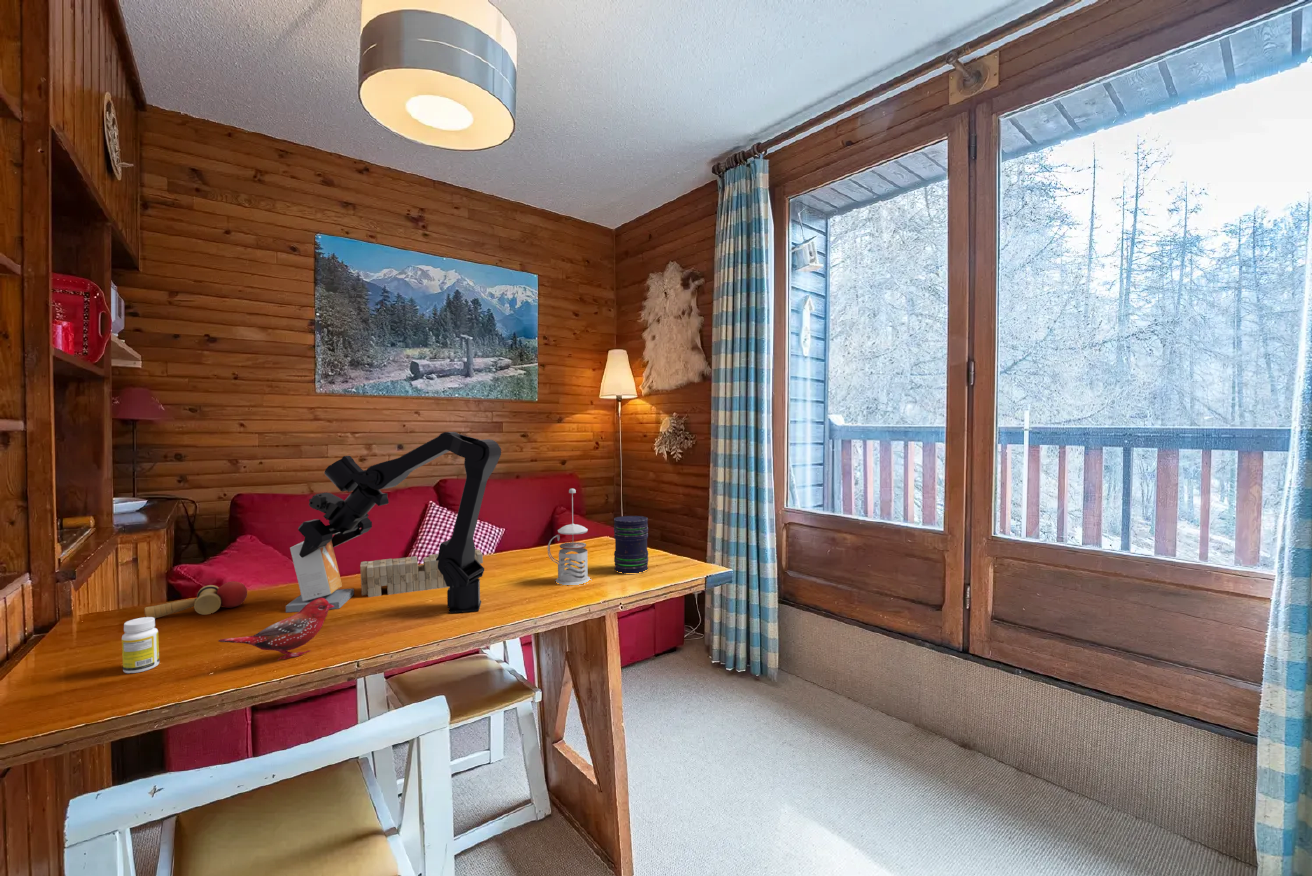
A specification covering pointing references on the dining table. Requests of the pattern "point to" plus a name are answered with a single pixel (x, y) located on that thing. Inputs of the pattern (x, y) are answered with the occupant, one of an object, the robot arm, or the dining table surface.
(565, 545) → the french press
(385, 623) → the dining table surface
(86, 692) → the dining table surface
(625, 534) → the storage jar
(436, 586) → the block tower
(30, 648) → the dining table surface
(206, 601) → the kendama
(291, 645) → the decorative bird figurine
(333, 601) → the flat grey square mat
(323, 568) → the small box
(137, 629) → the supplement bottle
